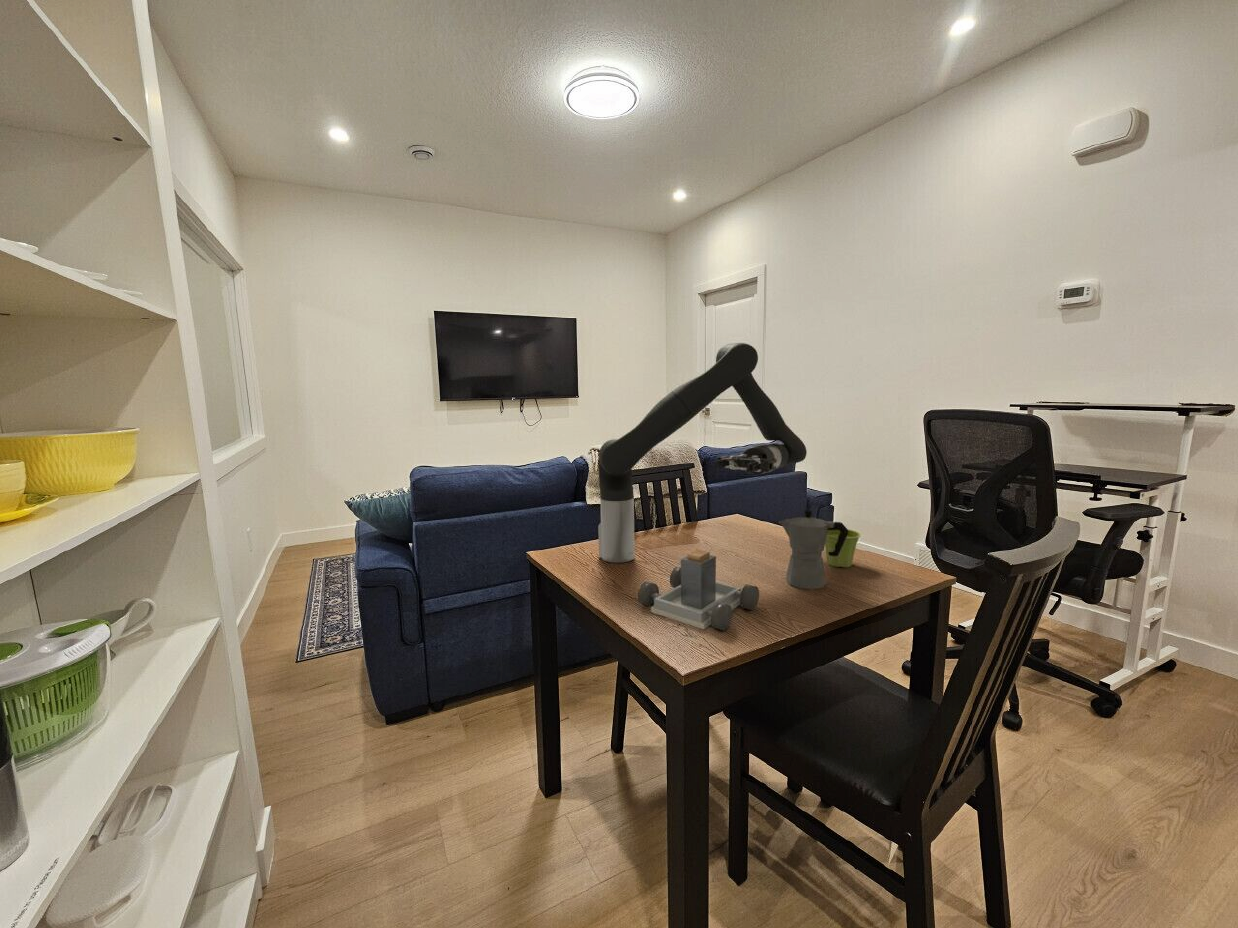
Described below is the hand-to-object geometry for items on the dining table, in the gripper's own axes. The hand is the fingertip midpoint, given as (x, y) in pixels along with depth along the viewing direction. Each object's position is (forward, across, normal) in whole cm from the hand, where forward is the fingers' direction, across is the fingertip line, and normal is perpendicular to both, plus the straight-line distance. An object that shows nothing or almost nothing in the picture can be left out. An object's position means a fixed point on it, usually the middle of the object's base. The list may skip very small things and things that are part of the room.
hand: (732, 466), depth 124 cm
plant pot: (-26, +18, +28) cm, 42 cm away
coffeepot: (-8, +17, +28) cm, 34 cm away
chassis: (+20, +3, +28) cm, 35 cm away
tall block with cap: (+20, +3, +27) cm, 34 cm away
